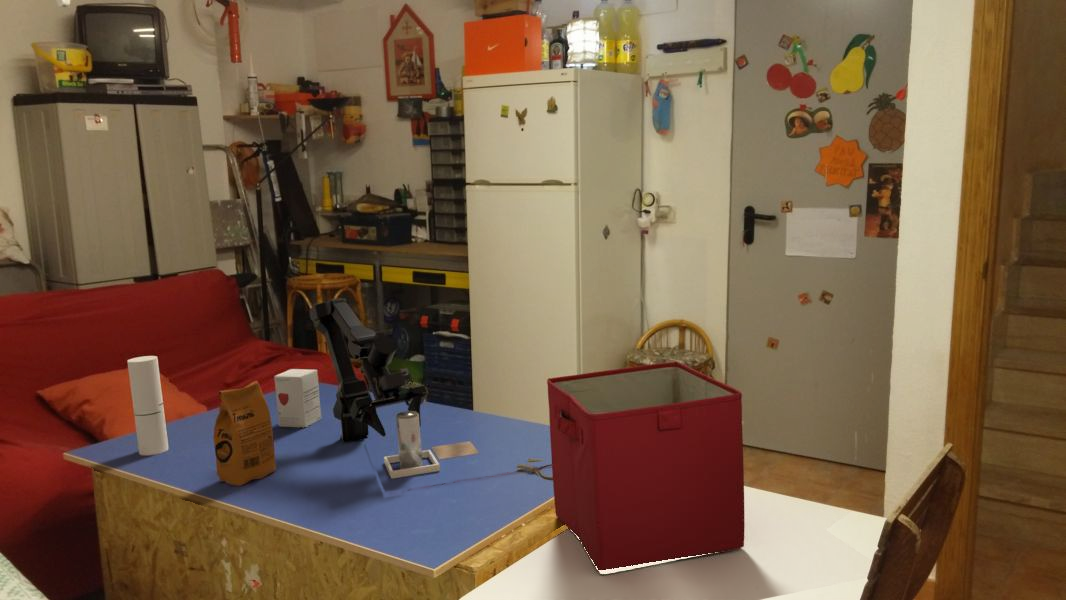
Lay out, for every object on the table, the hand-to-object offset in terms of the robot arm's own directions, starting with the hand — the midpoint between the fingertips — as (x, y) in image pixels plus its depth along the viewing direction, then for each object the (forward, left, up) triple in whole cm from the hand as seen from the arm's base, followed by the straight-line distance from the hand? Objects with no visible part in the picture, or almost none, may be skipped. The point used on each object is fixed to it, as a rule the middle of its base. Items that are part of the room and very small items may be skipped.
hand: (402, 431), depth 196 cm
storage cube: (+36, -56, -9) cm, 68 cm away
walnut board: (+13, +4, -9) cm, 16 cm away
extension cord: (+32, -18, -10) cm, 38 cm away
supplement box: (-22, +51, -9) cm, 56 cm away
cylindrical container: (-60, +43, -9) cm, 74 cm away
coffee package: (-36, +11, -9) cm, 39 cm away
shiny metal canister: (+1, -3, -8) cm, 9 cm away
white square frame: (+1, -3, -9) cm, 9 cm away
